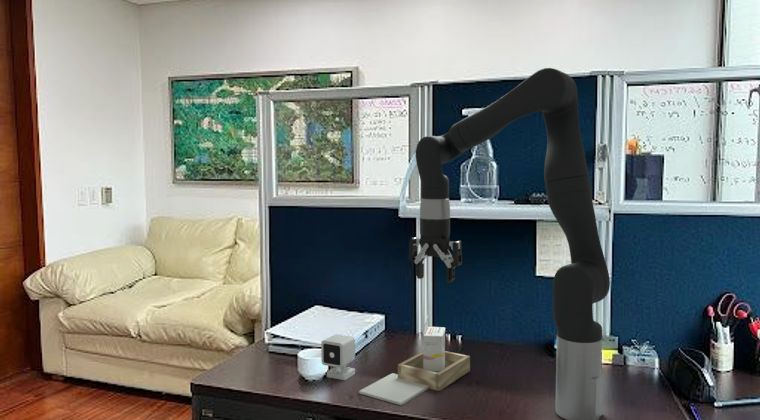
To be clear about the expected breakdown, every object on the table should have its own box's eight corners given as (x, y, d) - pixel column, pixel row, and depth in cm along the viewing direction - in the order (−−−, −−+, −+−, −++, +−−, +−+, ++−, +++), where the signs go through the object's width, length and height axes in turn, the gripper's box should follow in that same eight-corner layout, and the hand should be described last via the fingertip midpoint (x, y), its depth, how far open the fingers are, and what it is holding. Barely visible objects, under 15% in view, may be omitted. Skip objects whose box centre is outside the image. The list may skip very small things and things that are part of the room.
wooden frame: (469, 371, 154) (469, 356, 153) (439, 391, 141) (439, 374, 140) (430, 362, 161) (430, 347, 160) (397, 380, 148) (397, 364, 147)
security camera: (321, 378, 149) (321, 340, 148) (336, 369, 155) (335, 332, 154) (342, 382, 146) (342, 343, 145) (356, 373, 152) (356, 336, 152)
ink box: (442, 382, 146) (442, 324, 145) (422, 381, 147) (422, 323, 146) (445, 370, 154) (445, 315, 153) (426, 369, 155) (426, 314, 154)
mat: (432, 385, 144) (432, 383, 144) (401, 405, 133) (401, 402, 133) (392, 375, 151) (392, 373, 151) (359, 393, 140) (359, 390, 140)
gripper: (467, 216, 146) (466, 280, 147) (418, 213, 154) (418, 274, 156) (452, 219, 140) (452, 286, 141) (402, 216, 148) (403, 279, 149)
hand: (434, 280), depth 148 cm, fingers open, 8 cm apart
